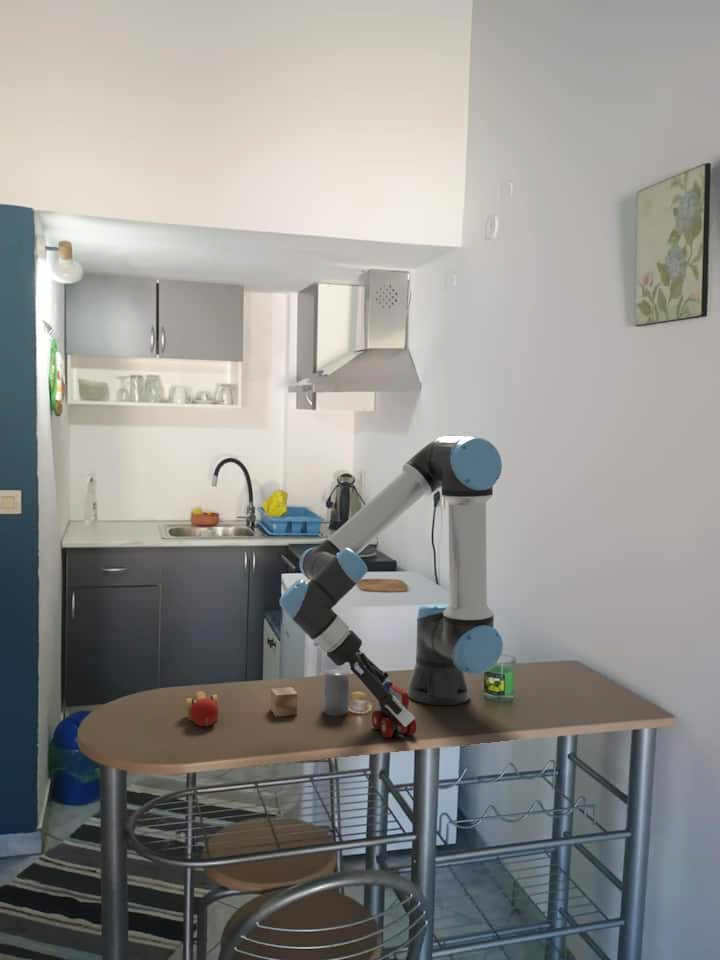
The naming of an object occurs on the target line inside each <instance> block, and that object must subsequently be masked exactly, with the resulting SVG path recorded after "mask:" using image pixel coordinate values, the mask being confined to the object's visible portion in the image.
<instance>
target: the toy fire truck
mask: <svg viewBox="0 0 720 960" xmlns="http://www.w3.org/2000/svg"><path fill="white" fill-rule="evenodd" d="M393 685H394V683H393V682H392V681H391V680H389V681H387V682H385V683H384V686H385V688H386V689H387V690H388V691H389V693H390V694H392V695H394V696H395V698H396V699H397V700H398V701H399V702H400V703H401V704H402V705H403V706H404V707H405V708H406V709H407V710H408V707H409V703H410V702H409V701H410V700H409V699H410V697H409V696H408V692H406V691H404V690H403V689H401V688H400V687H398V686H397V685H394V686H393ZM385 696H386V695H385ZM385 696H384V697H385ZM384 697H383V698H384ZM383 698H382V699H383ZM379 705H381V704H380V702H379V701H378V710H374V711H373V712H372V714H371V723H372V727H373V728H374V729H375V730H378V731H379V730H380V733H381V735H382V737H383V738H385V739H388V738H392V737H393V736H394V732H395V733H397V734H398V733H399V734H403V733H404V734H405V735H406V736H413V735H415V734H416V731H417V722H416V718H415V719H414V720H413V721H411V722H410V723H409V724H408V725H407V726H406V727H405V726H404V725H403V724H402V723H401V722H400V721H399V720H398V719H397V718H396V717H395V716H394V715H393V714H392V713H391V712H390V711H389V710H388V709H387V708H386V707H385V706H384V707H383V708H381V707H380V706H379ZM408 711H409V710H408Z"/></svg>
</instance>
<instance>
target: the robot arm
mask: <svg viewBox="0 0 720 960" xmlns="http://www.w3.org/2000/svg"><path fill="white" fill-rule="evenodd" d="M502 469H503V463H502V457H501V455H500V453H499V451H498V449H497V448H496V446H494V444H493V443H492V442H490V441H489V440H487V439H484V438H483V437H477V436H471V435H468V436H467V435H466V436H465V435H463V436H461V435H458V436H457V435H445V436H440V437H438V438H435V439H434V440H432V441H430V442H429V443H428V444H426V445H425V446H424V447H423V448H422V449H420V450H419V451H418V452H417V453H416V454H415V455H413V456H412V457H411V458H410V459H408V460H407V462H406V463H404V464H403V465H402V471H401V473H399V474H398V475H397V476H396V477H395V478H394V479H393V480H392V481H390V483H388V484H387V485H386V486H385V487H383V489H382V490H380V491H379V492H378V493H377V494H376V495H374V497H373V498H371V499H370V500H369V501H368V502H367V503H366V504H365V505H363V506H362V507H361V508H359V510H358V511H357V512H356V513H354V514H353V515H352V516H351V518H349V519H348V520H347V521H346V522H345V523H343V524H342V525H341V526H340V527H339V528H338V529H337V530H336V531H335V532H334V533H332V534H331V535H330V536H329V537H328V538H327V539H325V540H324V541H323V542H322V543H321V544H320V545H319V546H317V547H311V548H308V549H306V550H305V551H304V552H302V554H301V555H300V558H299V563H298V565H299V569H300V571H301V573H302V574H303V576H304V577H306V578H307V580H309V581H308V582H307V581H305V579H302V578H301V579H298V580H296V581H295V582H294V583H292V585H291V586H289V587H288V588H287V589H286V590H285V591H284V592H283V594H282V595H280V598H279V606H280V607H281V608H282V610H283V611H284V612H285V613H286V614H287V615H288V616H289V618H290V619H291V620H292V621H293V622H294V623H295V624H296V625H297V626H298V627H299V629H301V630H302V631H303V632H304V633H305V634H306V635H307V636H308V637H309V638H310V639H311V640H312V641H313V647H318V646H319V648H320V649H321V650H322V651H323V653H326V657H328V658H329V659H330V660H331V661H332V663H334V665H335V666H339V667H340V666H343V665H344V664H346V663H348V664H349V667H350V670H351V671H352V673H353V674H355V676H357V678H359V680H360V681H361V683H363V684H364V686H365V687H366V688H367V689H368V690H369V692H370V693H371V694H372V695H373V696H374V698H376V700H377V701H378V703H379V702H380V704H381V705H379V704H378V707H379V706H380V707H381V708H383V707H384V706H385V707H386V708H387V709H388V710H389V711H390V712H391V713H392V714H393V715H394V716H395V717H396V718H397V719H398V720H399V721H400V722H401V723H402V724H403V725H404V726H405V727H406V726H407V725H408V724H409V723H410V722H411V721H413V720H414V719H415V720H416V717H415V716H414V715H413V714H412V713H411V712H410V711H409V710H407V709H406V708H405V707H404V706H403V705H402V704H401V703H400V702H399V701H398V700H397V699H396V698H395V696H394V695H392V694H390V693H389V691H388V690H387V689H386V688H385V686H384V683H385V682H387V681H390V679H389V678H388V677H389V673H387V671H385V672H383V670H382V669H380V668H379V667H378V666H377V664H375V663H374V662H373V661H372V660H370V659H369V657H368V656H367V655H366V654H365V653H364V652H362V651H361V650H360V649H361V647H362V644H363V640H362V639H361V638H360V637H359V636H358V635H357V634H356V633H355V632H354V631H353V630H350V626H349V625H348V624H347V623H346V622H345V621H344V620H343V619H342V618H341V617H340V615H338V614H337V613H336V612H335V611H334V610H333V608H334V607H336V605H338V603H339V602H340V601H341V600H342V599H343V598H344V597H345V596H346V595H347V594H348V593H349V592H350V591H351V590H352V589H354V587H355V586H356V585H357V584H359V583H360V581H362V579H363V578H364V577H365V575H366V574H367V573H368V566H367V565H366V563H365V561H364V560H363V559H362V558H361V557H360V556H359V554H361V552H362V551H363V550H365V548H367V547H368V546H369V545H370V544H371V543H372V542H373V541H374V540H376V538H378V537H379V536H380V535H381V534H382V533H383V532H385V531H386V530H387V529H388V528H389V527H390V526H391V525H392V524H393V523H395V521H397V520H398V519H399V518H400V517H401V516H402V515H403V514H404V513H405V512H407V511H408V510H409V509H410V508H411V507H412V506H413V505H415V503H416V502H418V501H419V500H420V499H421V498H422V497H423V496H431V495H432V494H433V493H434V492H435V491H437V490H438V489H439V488H441V497H442V498H443V499H444V500H445V501H446V502H447V504H448V507H447V508H448V510H447V511H448V569H449V570H448V574H449V575H448V576H449V578H448V579H449V583H448V586H449V587H448V589H449V603H427V604H422V605H421V606H420V607H419V608H418V610H417V618H416V622H417V623H416V624H417V625H416V645H415V646H416V647H415V648H416V650H415V651H416V653H415V665H414V667H413V671H412V672H411V676H410V679H409V681H408V684H407V694H408V696H409V699H411V700H413V701H416V702H418V703H422V704H426V705H432V706H454V705H455V706H456V705H460V704H464V703H466V702H467V701H468V700H469V699H470V698H469V695H470V692H469V691H470V689H469V685H468V682H467V677H466V673H468V674H471V675H481V674H485V673H487V672H488V671H490V670H492V668H494V666H495V665H496V664H497V663H498V662H499V661H500V659H501V656H502V654H503V651H504V650H503V649H504V642H503V638H502V636H501V634H500V633H499V631H498V630H497V629H496V628H494V625H495V623H494V622H495V621H494V618H495V617H494V616H495V615H494V611H493V610H492V609H491V608H490V607H489V606H488V604H487V603H488V601H487V600H488V597H487V596H488V594H487V593H488V590H487V587H488V586H487V585H488V584H487V581H488V580H487V576H488V575H487V570H488V569H487V502H488V501H489V500H490V499H491V498H492V497H493V495H494V494H493V490H494V489H493V487H494V486H495V484H496V483H497V481H498V480H499V479H500V477H501V474H502ZM393 686H395V685H394V684H393ZM385 695H386V696H385ZM384 696H385V697H384ZM383 697H384V698H383ZM382 698H383V699H382Z"/></svg>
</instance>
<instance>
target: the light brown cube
mask: <svg viewBox="0 0 720 960" xmlns="http://www.w3.org/2000/svg"><path fill="white" fill-rule="evenodd" d="M269 705H270V709H269V710H270V712H273V713H272V714H273V715H274V717H275V718H277V716H278V717H289V716H297V715H298V692H297V691H296V690H295V689H294V688H293V687H289V686H288V687H274V688H270V704H269Z"/></svg>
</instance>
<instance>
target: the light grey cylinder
mask: <svg viewBox="0 0 720 960" xmlns="http://www.w3.org/2000/svg"><path fill="white" fill-rule="evenodd" d="M350 674H351V673H350V672H349V671H348V670H343V669H336V668H335V669H328V670H325V671H323V688H322V689H323V690H322V691H323V692H322V713H323V714H325V715H328V716H334V717H337V716H338V717H339V716H346V715H347V714H349V707H350V706H349V705H350V703H349V702H350V681H351V680H350V678H351V677H350V676H351V675H350Z"/></svg>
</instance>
